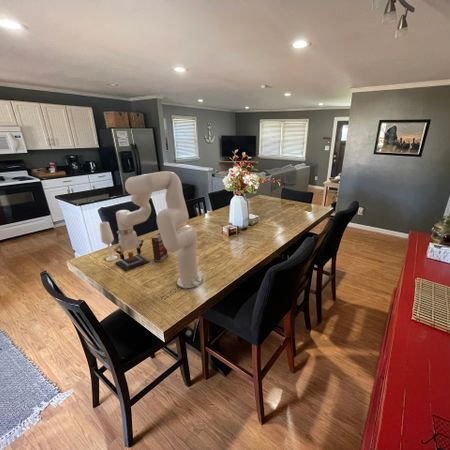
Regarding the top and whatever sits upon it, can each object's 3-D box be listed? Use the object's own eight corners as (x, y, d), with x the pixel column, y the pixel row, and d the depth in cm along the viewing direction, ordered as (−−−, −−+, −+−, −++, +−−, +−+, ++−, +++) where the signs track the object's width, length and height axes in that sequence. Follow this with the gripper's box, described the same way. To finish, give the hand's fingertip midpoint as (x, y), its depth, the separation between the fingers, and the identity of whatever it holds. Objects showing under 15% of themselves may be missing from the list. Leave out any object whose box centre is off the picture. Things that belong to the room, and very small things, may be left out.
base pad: (148, 262, 148) (148, 259, 148) (125, 271, 138) (124, 268, 138) (138, 255, 157) (137, 252, 156) (115, 263, 147) (115, 260, 146)
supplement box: (161, 261, 149) (157, 238, 144) (154, 261, 150) (150, 237, 145) (168, 255, 157) (165, 233, 152) (161, 254, 158) (158, 232, 153)
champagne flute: (118, 255, 157) (111, 220, 149) (116, 259, 151) (109, 224, 143) (106, 256, 155) (98, 221, 147) (104, 261, 149) (96, 225, 141)
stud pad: (139, 261, 148) (137, 252, 146) (129, 265, 144) (127, 255, 141) (134, 258, 151) (133, 249, 149) (124, 261, 147) (123, 252, 145)
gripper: (113, 236, 132) (119, 264, 138) (143, 228, 144) (147, 253, 150) (108, 233, 137) (113, 260, 142) (138, 225, 149) (142, 250, 155)
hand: (131, 256), depth 146 cm, fingers open, 9 cm apart
